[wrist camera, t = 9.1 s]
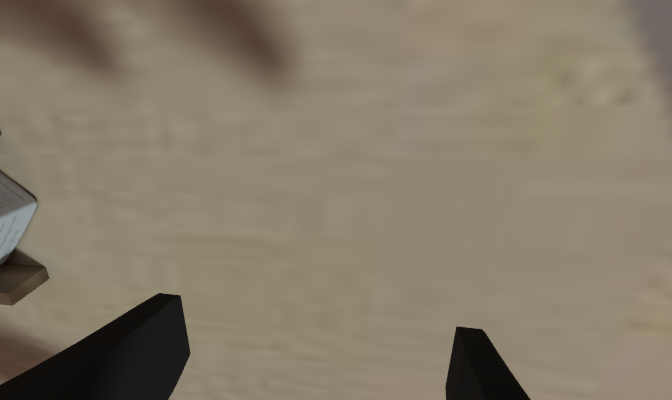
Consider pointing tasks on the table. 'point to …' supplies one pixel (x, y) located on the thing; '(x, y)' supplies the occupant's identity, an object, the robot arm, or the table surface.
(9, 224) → the skincare box
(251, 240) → the table surface
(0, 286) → the bottle holder
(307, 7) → the table surface
